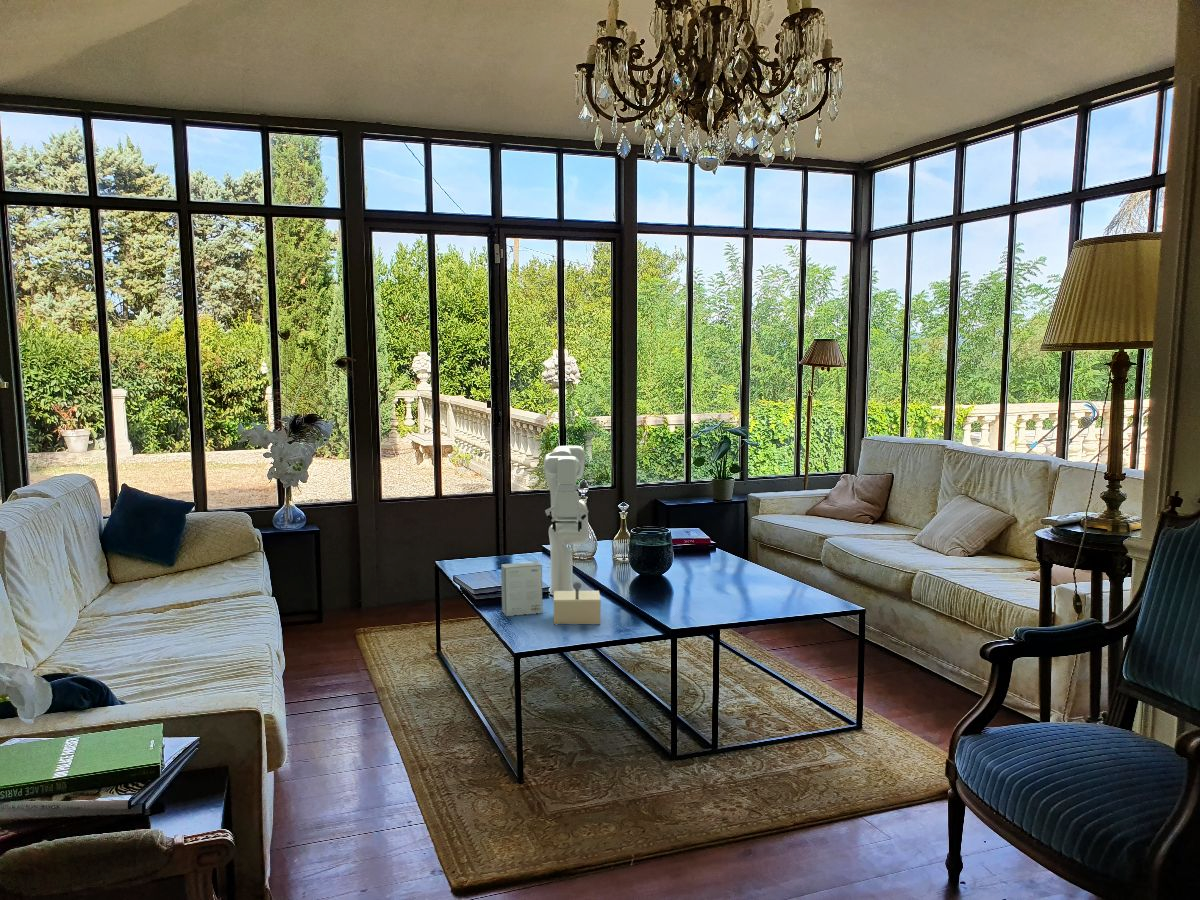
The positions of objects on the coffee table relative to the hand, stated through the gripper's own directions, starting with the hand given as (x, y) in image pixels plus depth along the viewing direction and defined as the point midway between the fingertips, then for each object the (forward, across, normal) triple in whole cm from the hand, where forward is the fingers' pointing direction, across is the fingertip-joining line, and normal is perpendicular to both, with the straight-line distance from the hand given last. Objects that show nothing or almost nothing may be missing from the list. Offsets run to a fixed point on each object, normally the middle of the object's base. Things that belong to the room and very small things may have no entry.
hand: (566, 531), depth 338 cm
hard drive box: (+34, +18, -4) cm, 39 cm away
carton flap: (+25, -4, +7) cm, 26 cm away
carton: (+34, -4, +7) cm, 35 cm away
